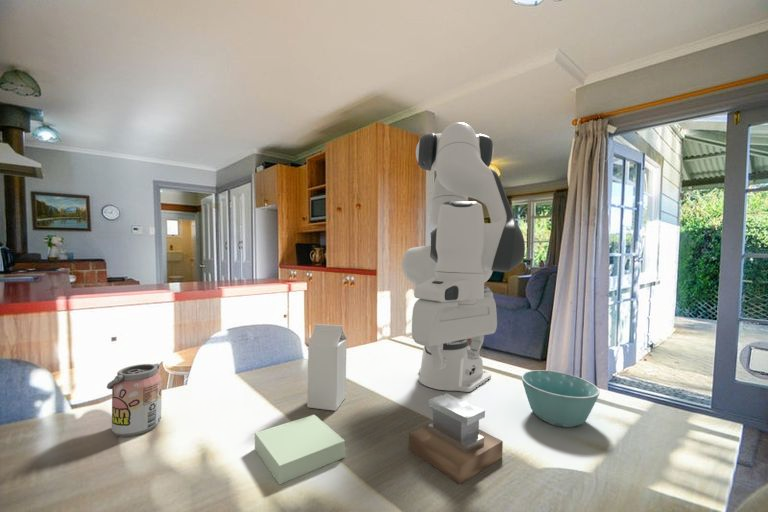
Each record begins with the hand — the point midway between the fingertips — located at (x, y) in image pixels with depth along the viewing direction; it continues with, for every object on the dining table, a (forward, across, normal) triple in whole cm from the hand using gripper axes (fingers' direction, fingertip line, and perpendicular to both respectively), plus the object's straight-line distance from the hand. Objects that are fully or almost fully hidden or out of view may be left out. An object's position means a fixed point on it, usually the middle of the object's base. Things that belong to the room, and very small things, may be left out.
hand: (457, 363), depth 62 cm
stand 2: (+17, 0, 0) cm, 17 cm away
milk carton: (+17, +9, -32) cm, 37 cm away
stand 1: (+17, +23, -17) cm, 33 cm away
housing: (+14, 0, 0) cm, 14 cm away
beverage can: (+17, +46, -45) cm, 67 cm away
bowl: (+17, -30, +5) cm, 35 cm away
